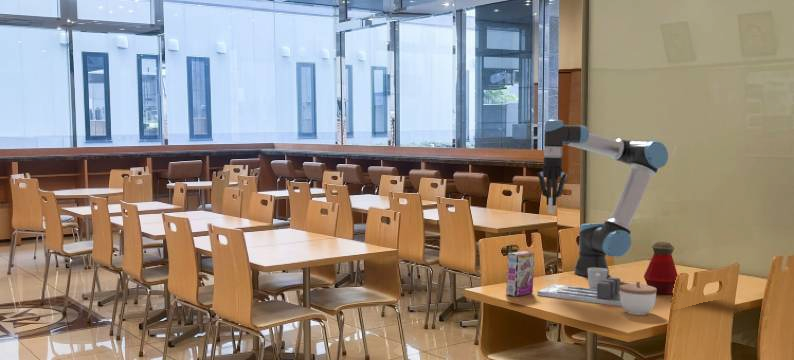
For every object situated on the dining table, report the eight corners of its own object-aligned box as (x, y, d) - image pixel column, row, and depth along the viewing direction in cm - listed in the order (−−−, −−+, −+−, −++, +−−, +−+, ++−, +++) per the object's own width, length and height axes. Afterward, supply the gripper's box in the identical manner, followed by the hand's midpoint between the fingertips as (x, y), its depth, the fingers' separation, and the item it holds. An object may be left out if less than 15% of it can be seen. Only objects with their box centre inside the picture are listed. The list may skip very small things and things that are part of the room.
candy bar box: (516, 297, 298) (517, 254, 297) (505, 295, 301) (506, 253, 300) (533, 293, 305) (534, 252, 304) (523, 291, 309) (524, 250, 308)
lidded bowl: (634, 318, 267) (636, 286, 267) (610, 310, 279) (612, 279, 278) (663, 315, 272) (664, 284, 272) (638, 307, 284) (640, 277, 283)
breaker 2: (604, 293, 300) (605, 279, 299) (614, 294, 298) (615, 280, 297) (601, 294, 297) (602, 280, 296) (612, 295, 294) (612, 281, 294)
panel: (553, 288, 318) (554, 283, 318) (638, 298, 300) (638, 294, 300) (537, 295, 303) (537, 290, 303) (625, 306, 285) (625, 302, 285)
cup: (608, 292, 312) (608, 272, 311) (587, 291, 313) (588, 271, 313) (606, 287, 322) (607, 268, 322) (586, 286, 324) (587, 267, 323)
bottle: (646, 287, 323) (648, 239, 322) (680, 291, 317) (682, 242, 316) (640, 294, 309) (641, 243, 308) (676, 297, 303) (678, 246, 302)
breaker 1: (599, 295, 295) (600, 281, 294) (610, 296, 292) (611, 282, 292) (596, 297, 292) (597, 282, 291) (607, 298, 289) (608, 284, 289)
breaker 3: (609, 290, 305) (609, 276, 304) (619, 291, 303) (620, 278, 302) (606, 292, 302) (607, 278, 301) (616, 293, 300) (617, 279, 299)
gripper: (534, 156, 327) (533, 212, 328) (564, 157, 320) (562, 215, 321) (541, 156, 333) (539, 211, 335) (571, 157, 326) (569, 213, 328)
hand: (551, 213), depth 328 cm, fingers closed
